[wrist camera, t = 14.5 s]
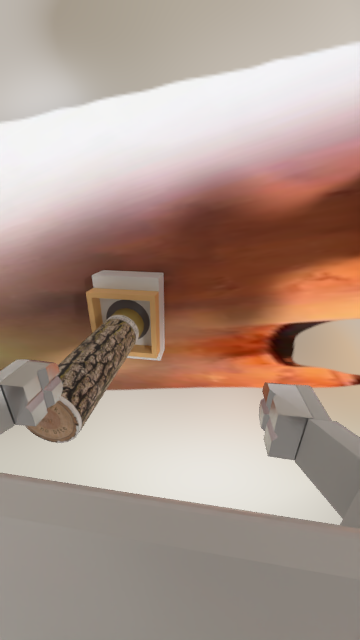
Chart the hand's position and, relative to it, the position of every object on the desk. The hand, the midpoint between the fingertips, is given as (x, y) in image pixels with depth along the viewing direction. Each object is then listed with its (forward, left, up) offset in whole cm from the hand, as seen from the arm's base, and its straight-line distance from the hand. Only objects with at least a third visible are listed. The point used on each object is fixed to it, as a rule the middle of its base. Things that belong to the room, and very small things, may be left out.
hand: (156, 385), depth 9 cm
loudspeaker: (+14, +13, -39) cm, 43 cm away
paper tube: (+14, +13, -34) cm, 39 cm away
